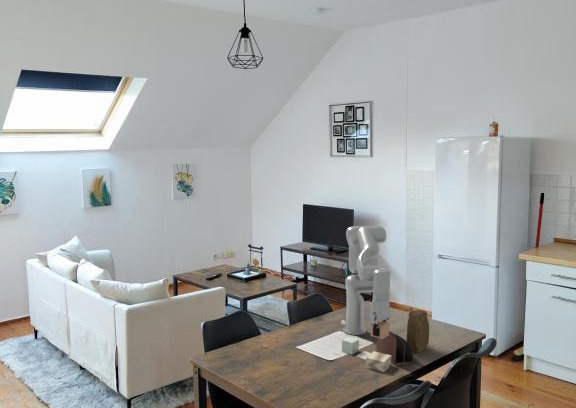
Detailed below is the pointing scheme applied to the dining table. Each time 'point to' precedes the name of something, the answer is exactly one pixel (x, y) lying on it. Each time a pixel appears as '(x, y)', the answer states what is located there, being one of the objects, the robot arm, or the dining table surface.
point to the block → (418, 330)
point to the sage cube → (350, 345)
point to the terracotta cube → (382, 329)
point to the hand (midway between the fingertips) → (379, 333)
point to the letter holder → (396, 349)
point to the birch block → (378, 361)
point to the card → (363, 355)
